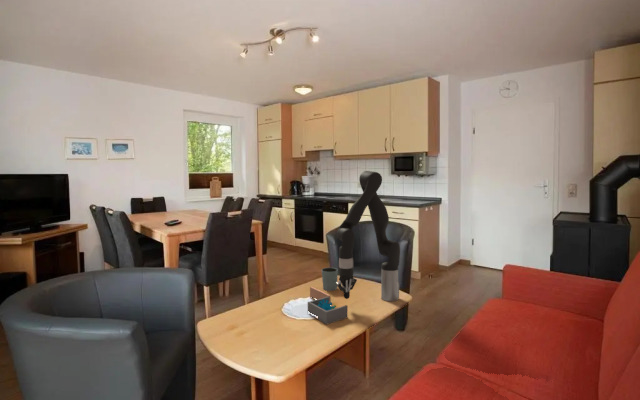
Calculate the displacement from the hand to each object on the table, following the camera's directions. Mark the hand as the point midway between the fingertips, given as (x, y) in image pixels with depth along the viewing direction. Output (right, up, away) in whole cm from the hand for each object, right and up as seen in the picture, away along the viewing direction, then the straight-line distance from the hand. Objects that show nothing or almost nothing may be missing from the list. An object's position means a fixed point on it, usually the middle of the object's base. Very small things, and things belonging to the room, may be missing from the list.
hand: (346, 298), depth 182 cm
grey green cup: (-8, -4, +33) cm, 34 cm away
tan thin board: (-14, -5, +11) cm, 18 cm away
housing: (-10, -7, -7) cm, 14 cm away
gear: (-10, -7, -7) cm, 14 cm away
